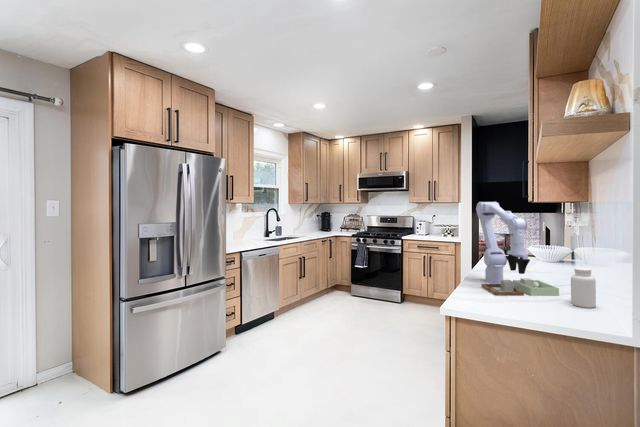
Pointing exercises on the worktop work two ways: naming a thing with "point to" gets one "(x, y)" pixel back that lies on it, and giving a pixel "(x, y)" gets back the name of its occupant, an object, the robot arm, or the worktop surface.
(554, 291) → the green bin
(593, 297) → the pill bottle
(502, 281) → the stone
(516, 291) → the walnut tray
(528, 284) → the grey rectangular block
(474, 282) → the worktop surface
